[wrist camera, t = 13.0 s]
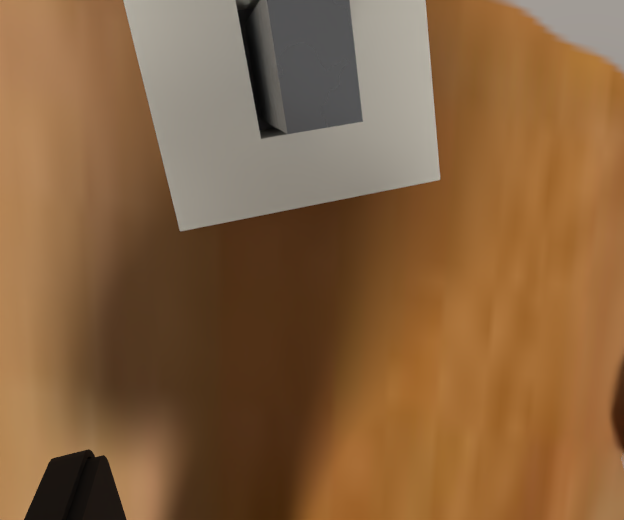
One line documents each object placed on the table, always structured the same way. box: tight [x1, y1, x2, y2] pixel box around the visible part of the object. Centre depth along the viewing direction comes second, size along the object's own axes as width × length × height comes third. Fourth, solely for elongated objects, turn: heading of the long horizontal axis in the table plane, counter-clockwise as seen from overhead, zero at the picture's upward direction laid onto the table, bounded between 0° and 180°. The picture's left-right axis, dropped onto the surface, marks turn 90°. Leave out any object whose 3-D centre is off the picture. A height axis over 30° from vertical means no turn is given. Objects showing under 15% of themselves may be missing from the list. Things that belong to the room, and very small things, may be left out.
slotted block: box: [123, 0, 440, 232], centre depth 29 cm, size 14×14×5 cm
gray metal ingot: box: [244, 0, 363, 134], centre depth 25 cm, size 8×3×11 cm, turn 8°
